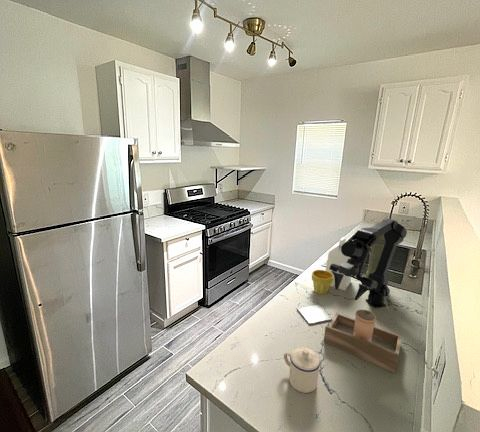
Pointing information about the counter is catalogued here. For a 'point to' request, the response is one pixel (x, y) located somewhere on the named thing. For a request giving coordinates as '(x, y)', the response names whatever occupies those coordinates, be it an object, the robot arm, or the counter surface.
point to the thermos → (375, 254)
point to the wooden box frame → (363, 343)
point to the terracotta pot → (364, 325)
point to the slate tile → (314, 314)
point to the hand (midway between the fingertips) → (345, 294)
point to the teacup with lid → (303, 369)
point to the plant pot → (321, 281)
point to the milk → (338, 263)
